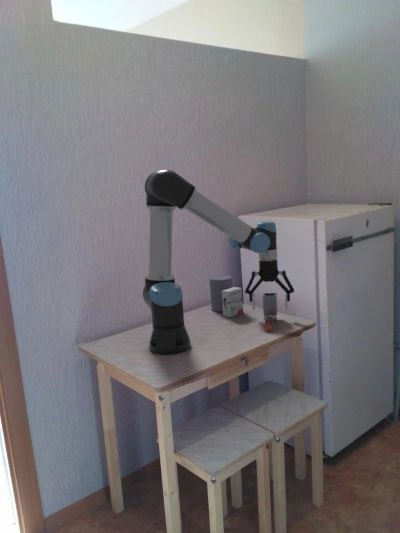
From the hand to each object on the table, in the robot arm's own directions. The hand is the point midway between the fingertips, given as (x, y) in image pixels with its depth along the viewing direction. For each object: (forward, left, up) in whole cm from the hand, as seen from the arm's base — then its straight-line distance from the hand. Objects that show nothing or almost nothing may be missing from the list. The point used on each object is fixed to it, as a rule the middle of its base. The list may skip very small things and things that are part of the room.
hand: (270, 309), depth 199 cm
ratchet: (0, -6, -5) cm, 8 cm away
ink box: (-17, +8, -5) cm, 19 cm away
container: (-23, +18, -5) cm, 30 cm away
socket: (0, 0, -2) cm, 2 cm away
